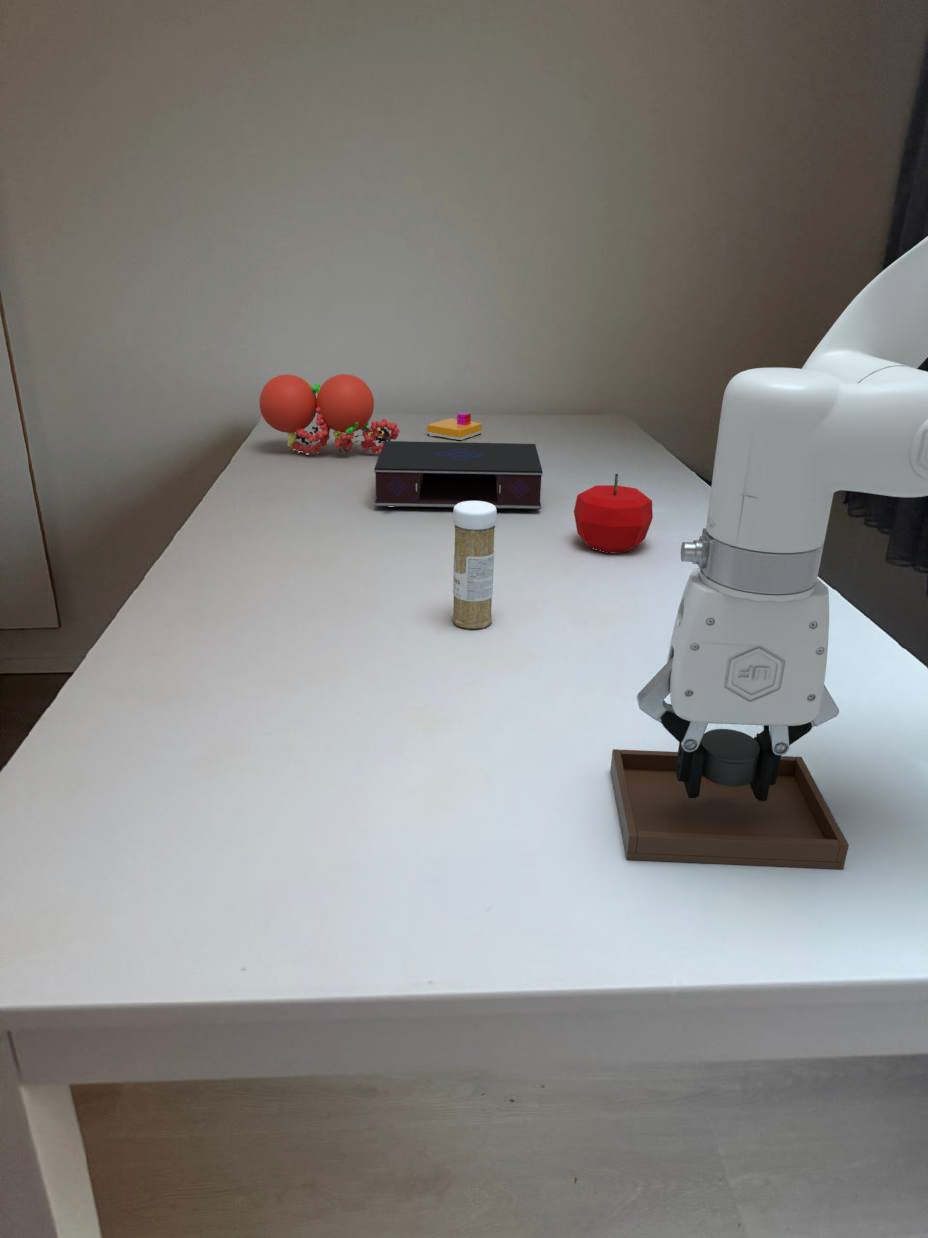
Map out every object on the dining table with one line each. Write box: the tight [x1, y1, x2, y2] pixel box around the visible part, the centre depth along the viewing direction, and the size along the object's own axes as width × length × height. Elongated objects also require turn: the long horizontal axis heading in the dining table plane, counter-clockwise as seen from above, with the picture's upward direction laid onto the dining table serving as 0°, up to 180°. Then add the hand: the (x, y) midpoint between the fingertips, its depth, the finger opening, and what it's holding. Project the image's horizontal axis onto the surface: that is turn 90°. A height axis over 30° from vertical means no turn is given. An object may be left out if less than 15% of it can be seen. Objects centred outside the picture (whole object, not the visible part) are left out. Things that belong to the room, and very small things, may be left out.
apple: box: [573, 473, 654, 554], centre depth 122 cm, size 11×11×10 cm
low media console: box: [373, 440, 544, 510], centre depth 143 cm, size 17×25×7 cm
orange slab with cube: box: [426, 412, 483, 438], centre depth 183 cm, size 8×8×4 cm
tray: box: [609, 748, 850, 870], centre depth 69 cm, size 15×11×2 cm
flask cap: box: [701, 728, 760, 786], centre depth 67 cm, size 4×4×2 cm
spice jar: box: [451, 501, 498, 629], centre depth 98 cm, size 5×5×13 cm
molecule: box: [258, 373, 400, 455], centre depth 164 cm, size 25×11×15 cm, turn 89°
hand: (723, 786), depth 68 cm, fingers closed on flask cap, 4 cm apart
